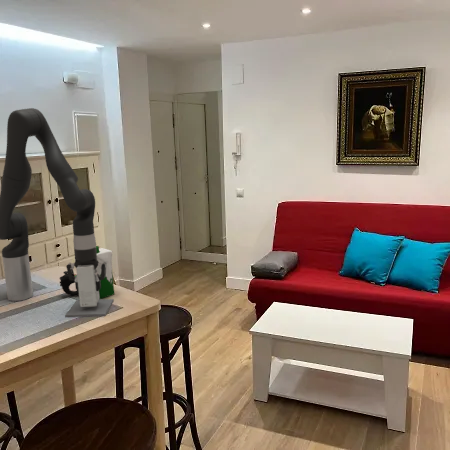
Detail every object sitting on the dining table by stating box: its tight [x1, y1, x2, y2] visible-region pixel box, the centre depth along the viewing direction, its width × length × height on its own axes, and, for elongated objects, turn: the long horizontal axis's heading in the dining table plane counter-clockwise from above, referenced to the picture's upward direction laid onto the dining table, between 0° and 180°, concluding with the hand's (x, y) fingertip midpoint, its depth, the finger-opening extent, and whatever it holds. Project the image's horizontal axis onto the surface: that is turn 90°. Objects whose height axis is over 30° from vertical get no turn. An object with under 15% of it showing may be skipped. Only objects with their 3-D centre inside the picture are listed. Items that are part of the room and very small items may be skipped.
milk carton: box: [96, 245, 115, 299], centre depth 178 cm, size 9×9×20 cm
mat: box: [64, 298, 115, 318], centre depth 166 cm, size 14×14×1 cm
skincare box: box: [75, 265, 100, 307], centre depth 164 cm, size 8×6×15 cm
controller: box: [59, 270, 79, 297], centre depth 180 cm, size 4×12×10 cm, turn 113°
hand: (88, 290), depth 165 cm, fingers closed on skincare box, 6 cm apart
